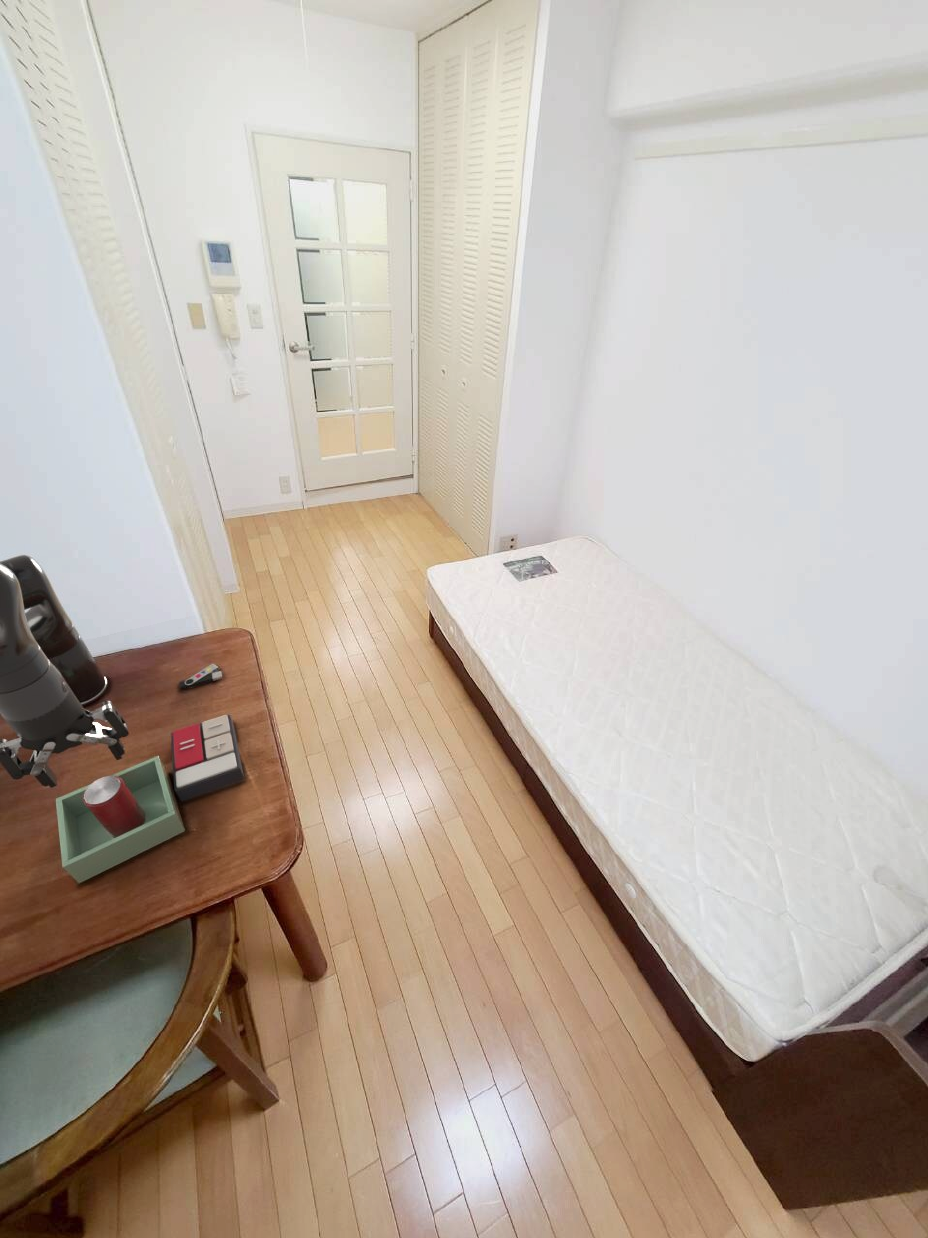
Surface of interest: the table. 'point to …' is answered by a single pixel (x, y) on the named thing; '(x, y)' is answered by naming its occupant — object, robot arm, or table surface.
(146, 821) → the open box
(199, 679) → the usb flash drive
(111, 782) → the can
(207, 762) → the calculator
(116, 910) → the table surface
